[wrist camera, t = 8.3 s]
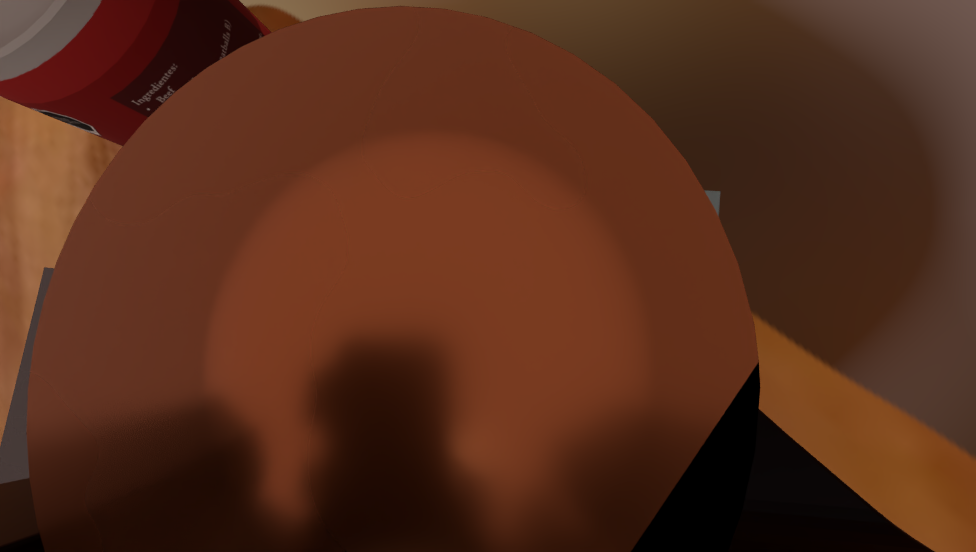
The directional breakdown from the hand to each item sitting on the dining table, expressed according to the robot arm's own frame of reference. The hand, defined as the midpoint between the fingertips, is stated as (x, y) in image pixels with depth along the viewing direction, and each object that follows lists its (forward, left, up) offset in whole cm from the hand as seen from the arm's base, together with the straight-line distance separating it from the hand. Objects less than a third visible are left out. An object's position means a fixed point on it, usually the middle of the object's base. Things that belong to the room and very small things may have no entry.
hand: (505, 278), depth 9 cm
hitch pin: (-1, 0, -8) cm, 8 cm away
